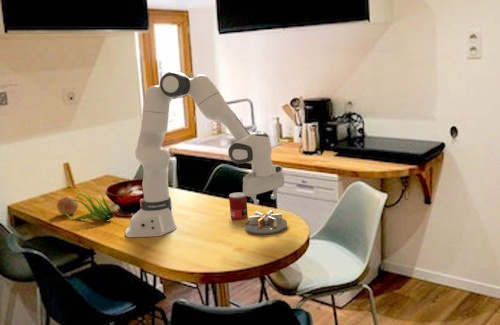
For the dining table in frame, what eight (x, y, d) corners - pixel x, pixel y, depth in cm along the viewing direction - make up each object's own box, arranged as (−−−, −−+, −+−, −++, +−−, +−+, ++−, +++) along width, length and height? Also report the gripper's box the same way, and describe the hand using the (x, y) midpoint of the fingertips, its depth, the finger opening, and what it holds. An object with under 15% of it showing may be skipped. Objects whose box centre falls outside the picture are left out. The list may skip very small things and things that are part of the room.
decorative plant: (90, 209, 274) (86, 182, 271) (115, 221, 252) (111, 191, 248) (56, 218, 263) (52, 189, 260) (79, 231, 241) (74, 200, 238)
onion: (57, 214, 270) (54, 195, 267) (78, 210, 273) (75, 192, 271) (59, 219, 261) (55, 199, 259) (79, 215, 264) (76, 196, 262)
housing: (247, 237, 217) (247, 227, 216) (243, 223, 234) (242, 213, 233) (290, 232, 219) (290, 222, 218) (283, 218, 236) (282, 209, 235)
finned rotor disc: (273, 229, 217) (272, 221, 216) (245, 227, 223) (245, 219, 222) (285, 218, 229) (285, 210, 229) (259, 216, 235) (258, 209, 234)
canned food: (246, 219, 239) (244, 196, 236) (229, 220, 240) (227, 197, 238) (249, 214, 246) (247, 191, 243) (232, 214, 247) (230, 192, 245)
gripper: (247, 176, 213) (250, 209, 216) (285, 166, 224) (287, 197, 227) (238, 174, 218) (241, 206, 221) (276, 164, 229) (278, 194, 232)
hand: (265, 201), depth 224 cm, fingers open, 8 cm apart
